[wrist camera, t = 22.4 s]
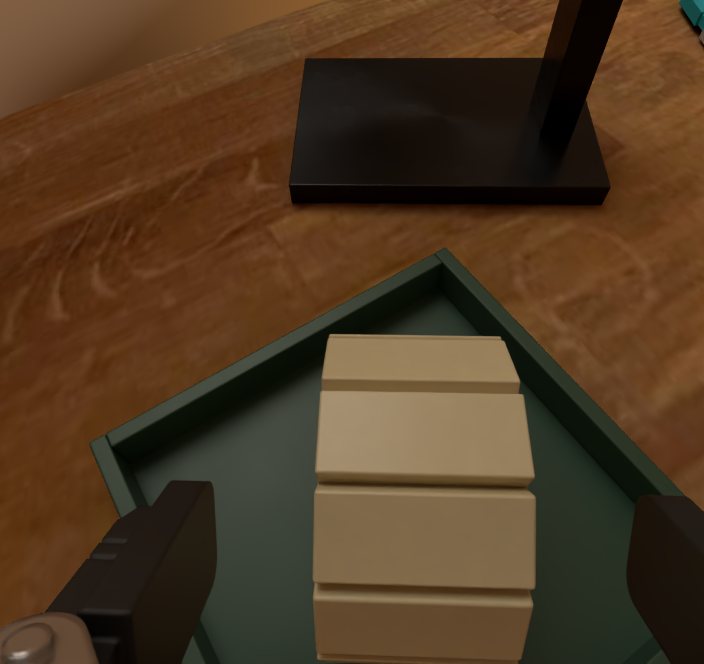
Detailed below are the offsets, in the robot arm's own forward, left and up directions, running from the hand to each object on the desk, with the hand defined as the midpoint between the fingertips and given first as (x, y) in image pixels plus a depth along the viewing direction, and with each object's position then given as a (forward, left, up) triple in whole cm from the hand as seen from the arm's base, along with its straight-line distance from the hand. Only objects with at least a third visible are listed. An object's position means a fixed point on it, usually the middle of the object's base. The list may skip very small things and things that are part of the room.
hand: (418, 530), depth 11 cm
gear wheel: (+1, +2, -4) cm, 5 cm away
